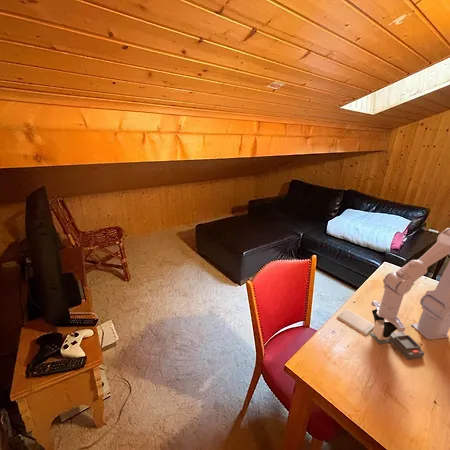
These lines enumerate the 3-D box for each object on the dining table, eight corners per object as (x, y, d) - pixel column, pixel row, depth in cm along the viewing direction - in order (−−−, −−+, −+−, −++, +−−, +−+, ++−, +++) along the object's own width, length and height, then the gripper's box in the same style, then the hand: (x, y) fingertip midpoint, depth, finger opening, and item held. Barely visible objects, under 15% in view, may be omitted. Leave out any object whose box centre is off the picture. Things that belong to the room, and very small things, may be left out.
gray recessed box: (400, 336, 96) (402, 329, 94) (422, 357, 86) (425, 350, 85) (386, 337, 95) (389, 330, 94) (407, 359, 86) (410, 352, 85)
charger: (381, 331, 96) (385, 319, 94) (389, 339, 93) (393, 327, 90) (372, 332, 96) (375, 320, 94) (379, 340, 92) (383, 328, 90)
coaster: (381, 332, 97) (381, 332, 97) (390, 342, 93) (390, 341, 93) (370, 334, 97) (370, 333, 97) (378, 343, 92) (378, 342, 92)
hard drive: (337, 315, 105) (366, 333, 96) (347, 308, 109) (376, 324, 100) (336, 318, 105) (365, 336, 96) (346, 311, 110) (375, 327, 101)
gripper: (367, 292, 95) (360, 319, 100) (395, 318, 81) (386, 348, 86) (383, 290, 96) (376, 317, 101) (414, 316, 82) (404, 346, 87)
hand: (381, 331), depth 94 cm, fingers closed on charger, 4 cm apart
